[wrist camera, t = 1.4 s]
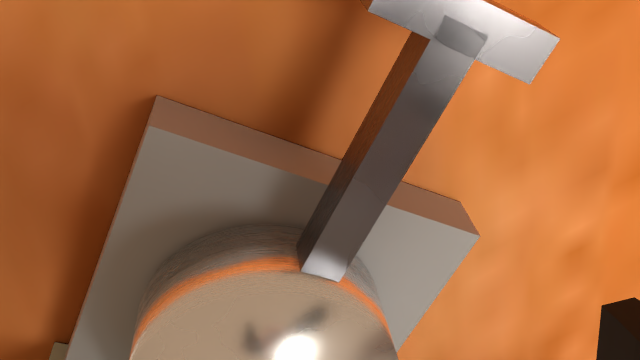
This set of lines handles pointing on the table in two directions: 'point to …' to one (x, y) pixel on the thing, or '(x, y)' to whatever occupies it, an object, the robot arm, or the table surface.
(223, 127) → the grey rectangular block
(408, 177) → the table surface
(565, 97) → the table surface
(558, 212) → the table surface
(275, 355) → the grey t-handle
